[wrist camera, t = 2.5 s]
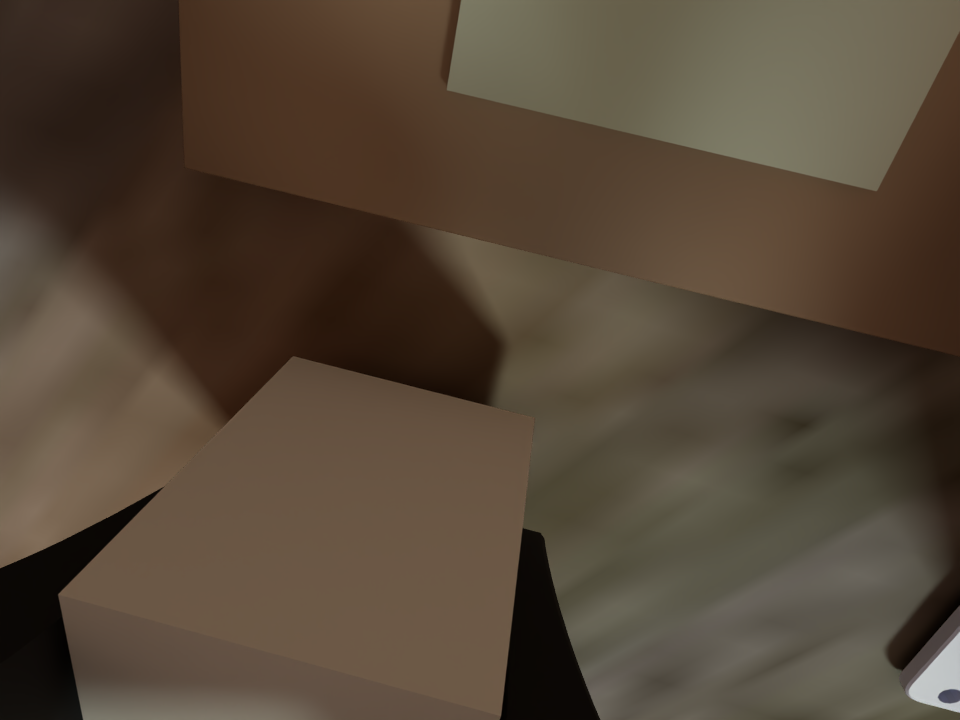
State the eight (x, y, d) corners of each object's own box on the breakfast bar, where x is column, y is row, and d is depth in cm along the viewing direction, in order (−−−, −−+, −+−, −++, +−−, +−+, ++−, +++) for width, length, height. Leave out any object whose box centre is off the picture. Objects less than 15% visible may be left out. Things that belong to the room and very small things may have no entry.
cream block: (535, 417, 12) (501, 717, 6) (483, 589, 14) (427, 914, 9) (292, 356, 12) (57, 594, 6) (282, 536, 14) (103, 821, 9)
